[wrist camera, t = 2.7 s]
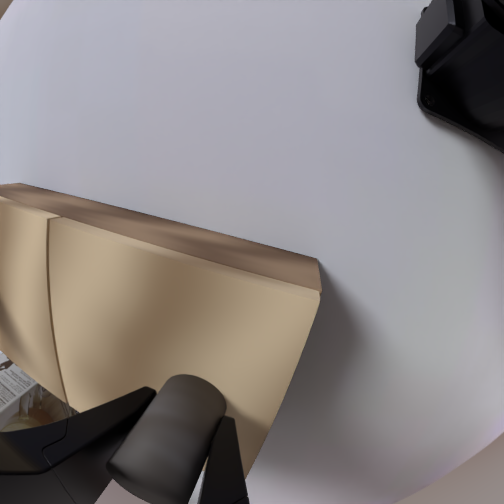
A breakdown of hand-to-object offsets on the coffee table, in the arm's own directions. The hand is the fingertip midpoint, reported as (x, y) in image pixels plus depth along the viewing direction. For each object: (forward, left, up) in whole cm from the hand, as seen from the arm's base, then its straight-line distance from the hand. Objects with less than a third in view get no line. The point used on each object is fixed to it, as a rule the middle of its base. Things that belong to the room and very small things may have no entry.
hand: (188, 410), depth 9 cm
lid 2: (+2, 0, -1) cm, 2 cm away
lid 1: (+12, 0, -1) cm, 12 cm away
